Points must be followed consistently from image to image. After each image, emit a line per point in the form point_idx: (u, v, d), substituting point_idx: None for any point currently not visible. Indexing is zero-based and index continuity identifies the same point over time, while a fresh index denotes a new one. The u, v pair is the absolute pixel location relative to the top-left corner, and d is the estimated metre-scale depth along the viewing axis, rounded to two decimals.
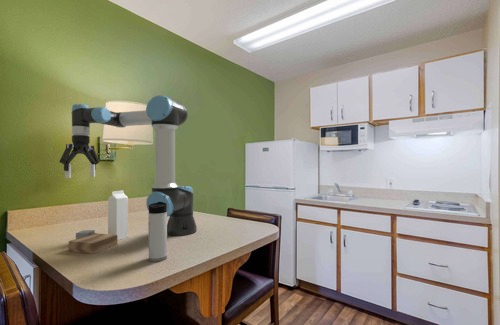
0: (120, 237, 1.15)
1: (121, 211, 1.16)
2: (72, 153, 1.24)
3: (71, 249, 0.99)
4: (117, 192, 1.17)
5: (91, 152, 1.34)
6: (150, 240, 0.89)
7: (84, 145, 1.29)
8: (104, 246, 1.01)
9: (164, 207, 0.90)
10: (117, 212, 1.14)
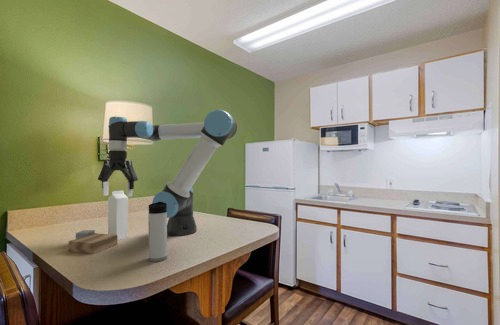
0: (120, 237, 1.15)
1: (121, 211, 1.16)
2: None
3: (71, 249, 0.99)
4: (117, 192, 1.17)
5: None
6: (150, 240, 0.89)
7: (117, 161, 1.17)
8: (104, 246, 1.01)
9: (164, 207, 0.90)
10: (117, 212, 1.14)
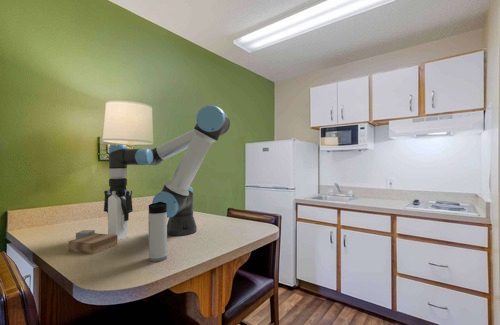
0: (120, 237, 1.15)
1: (121, 211, 1.16)
2: None
3: (71, 249, 0.99)
4: None
5: None
6: (150, 240, 0.89)
7: (118, 187, 1.16)
8: (104, 246, 1.01)
9: (164, 207, 0.90)
10: (117, 212, 1.14)
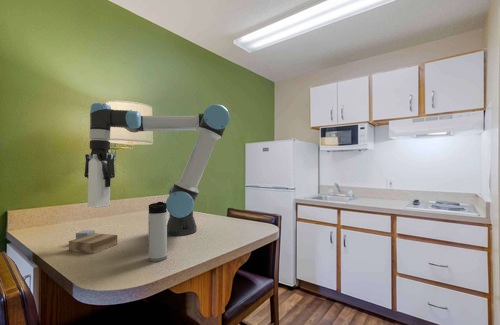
0: (100, 204, 1.05)
1: (102, 177, 1.06)
2: None
3: (71, 249, 0.99)
4: None
5: None
6: (150, 240, 0.89)
7: (100, 150, 1.06)
8: (104, 246, 1.01)
9: (164, 207, 0.90)
10: (97, 176, 1.04)
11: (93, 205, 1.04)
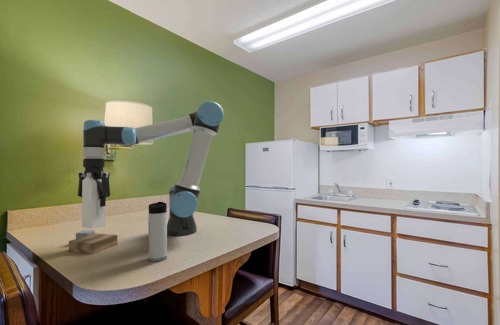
0: (95, 225, 1.02)
1: (97, 196, 1.02)
2: None
3: (71, 249, 0.99)
4: None
5: None
6: (150, 240, 0.89)
7: (94, 168, 1.03)
8: (104, 246, 1.01)
9: (164, 207, 0.90)
10: (91, 196, 1.00)
11: (87, 225, 1.01)
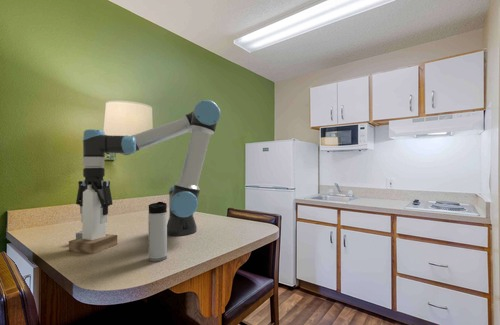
0: (96, 237, 1.02)
1: (98, 208, 1.03)
2: None
3: (71, 249, 0.99)
4: None
5: None
6: (150, 240, 0.89)
7: (94, 178, 1.03)
8: (104, 246, 1.01)
9: (164, 207, 0.90)
10: (93, 208, 1.00)
11: (88, 237, 1.01)
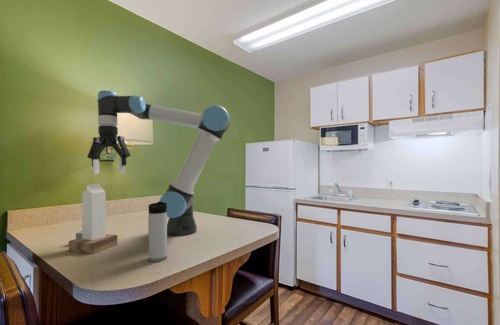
0: (96, 237, 1.02)
1: (98, 208, 1.02)
2: None
3: (71, 249, 0.99)
4: (93, 185, 1.04)
5: None
6: (150, 240, 0.89)
7: (108, 137, 1.12)
8: (104, 246, 1.01)
9: (164, 207, 0.90)
10: (92, 208, 1.00)
11: (88, 237, 1.01)
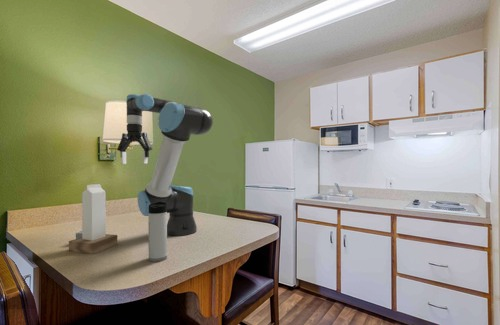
0: (96, 237, 1.02)
1: (98, 208, 1.02)
2: None
3: (71, 249, 0.99)
4: (93, 185, 1.04)
5: None
6: (150, 240, 0.89)
7: (134, 133, 1.34)
8: (104, 246, 1.01)
9: (164, 207, 0.90)
10: (92, 208, 1.00)
11: (88, 237, 1.01)
